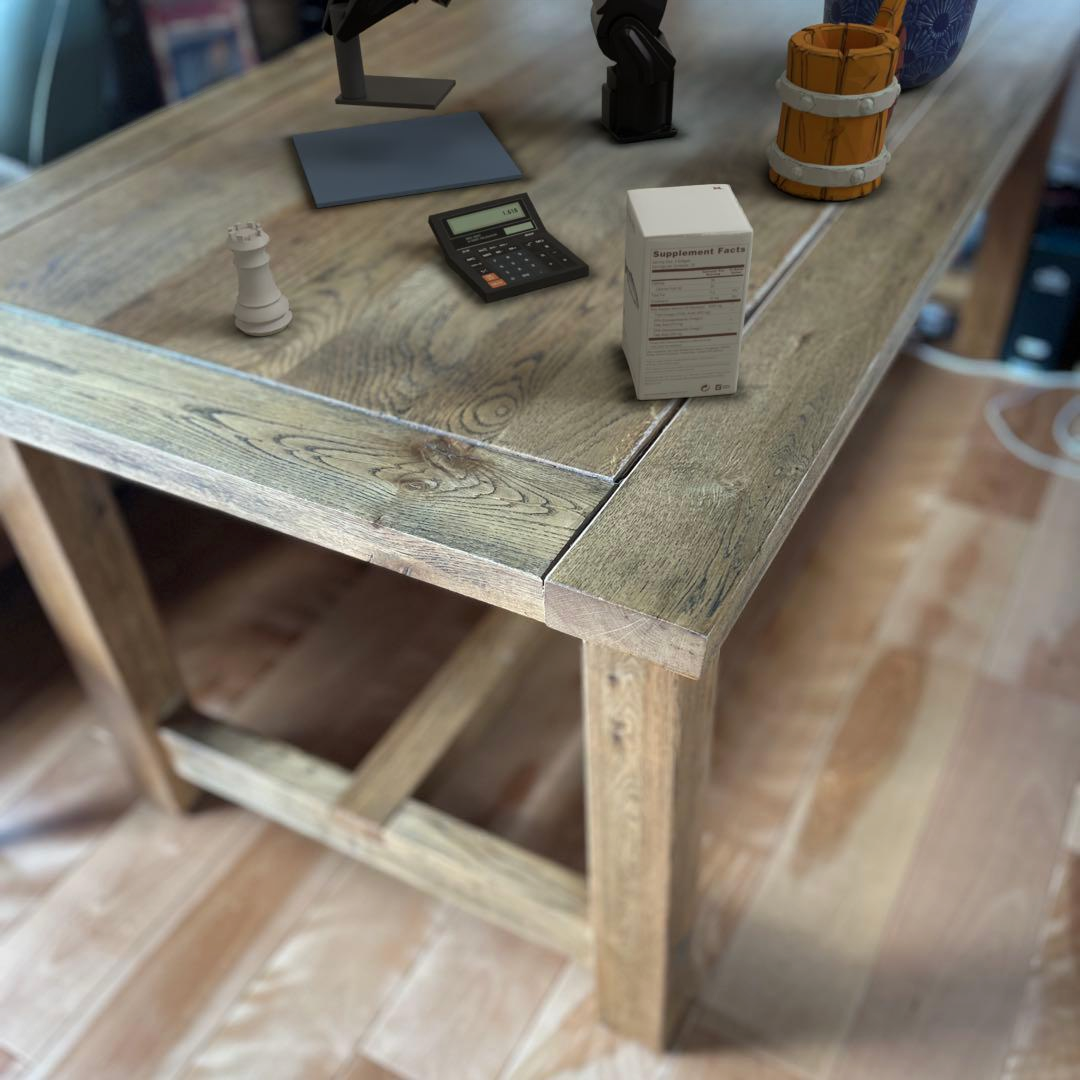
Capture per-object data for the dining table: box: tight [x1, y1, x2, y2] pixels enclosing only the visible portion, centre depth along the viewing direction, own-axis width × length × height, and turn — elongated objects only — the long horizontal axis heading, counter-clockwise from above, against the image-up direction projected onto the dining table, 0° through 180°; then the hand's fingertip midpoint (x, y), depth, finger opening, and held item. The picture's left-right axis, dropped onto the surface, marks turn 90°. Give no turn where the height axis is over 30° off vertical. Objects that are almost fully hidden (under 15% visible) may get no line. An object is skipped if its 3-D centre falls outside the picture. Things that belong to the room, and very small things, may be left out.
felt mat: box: [291, 110, 523, 209], centre depth 112 cm, size 20×18×1 cm
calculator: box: [427, 191, 590, 304], centre depth 94 cm, size 9×12×3 cm
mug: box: [765, 0, 907, 202], centre depth 102 cm, size 11×16×15 cm, turn 137°
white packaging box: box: [621, 183, 755, 401], centre depth 77 cm, size 7×7×13 cm
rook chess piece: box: [224, 220, 293, 337], centre depth 85 cm, size 4×4×8 cm
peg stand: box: [329, 3, 457, 111], centre depth 105 cm, size 10×7×8 cm
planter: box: [822, 0, 979, 90], centre depth 122 cm, size 17×17×15 cm
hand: (332, 36), depth 102 cm, fingers closed on peg stand, 2 cm apart
